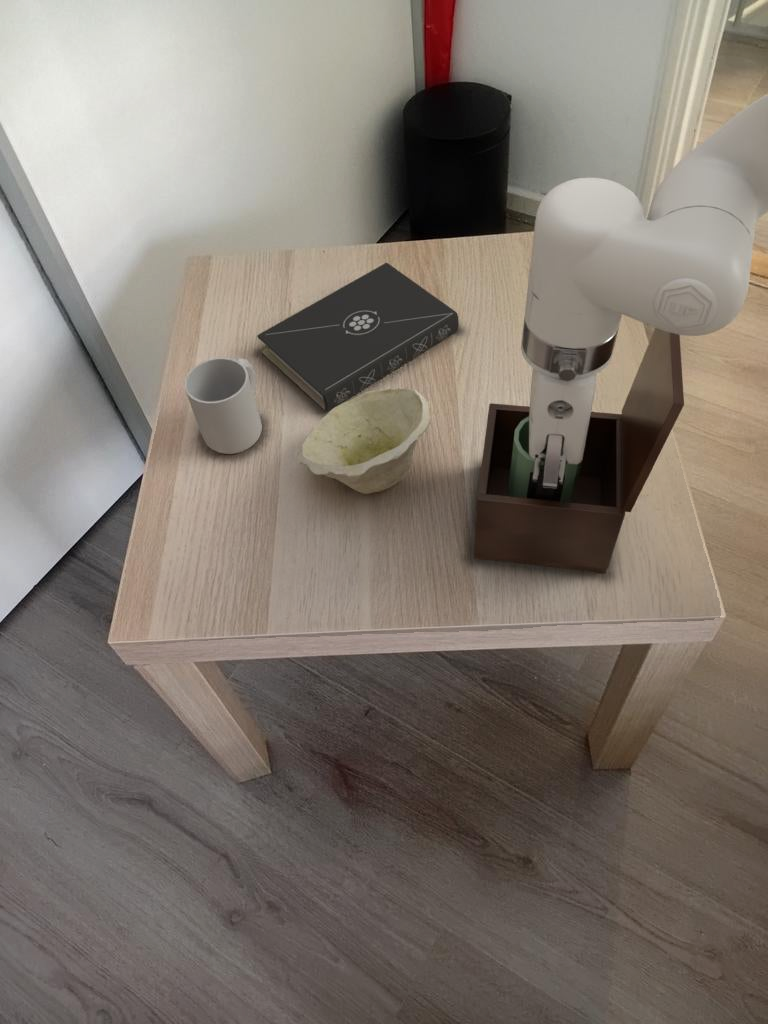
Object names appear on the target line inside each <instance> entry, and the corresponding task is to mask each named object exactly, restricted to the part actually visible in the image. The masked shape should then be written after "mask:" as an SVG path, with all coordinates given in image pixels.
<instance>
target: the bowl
mask: <svg viewBox="0 0 768 1024" xmlns="http://www.w3.org/2000/svg"><path fill="white" fill-rule="evenodd" d="M431 421H432V418H431V410H430V403H429V401H428V400H427V399H426V398H425V397H424V396H423V395H422V394H421V393H420V392H419V391H417V390H416V389H414V388H409V387H402V388H400V387H397V388H395V389H394V388H386V389H381V390H380V389H379V390H368V391H365V392H363V393H361V394H359V395H357V396H355V397H352V398H350V399H348V400H346V401H345V402H343V403H342V404H340V405H338V406H336V407H335V408H333V409H332V410H330V411H329V412H327V413H326V414H325V415H324V416H323V417H322V418H321V419H320V420H319V422H318V423H317V424H315V425H314V426H313V427H312V429H311V431H310V433H309V434H308V435H307V437H306V438H305V439H304V440H303V444H302V446H301V450H300V452H299V454H298V458H297V462H299V463H300V464H305V465H306V466H308V469H309V470H310V471H311V472H312V474H313V475H321V476H325V477H327V478H331V479H335V480H337V481H338V482H341V483H342V484H344V485H346V486H347V487H349V488H350V489H352V490H353V491H355V492H358V493H361V494H365V495H371V494H374V493H380V492H383V491H385V490H386V489H390V488H392V487H393V486H395V485H396V484H398V483H399V482H400V481H401V480H402V479H403V477H404V476H405V475H406V474H407V472H408V470H409V469H410V467H411V463H412V457H413V455H414V451H415V447H416V445H417V443H418V441H419V438H421V436H422V435H424V434H425V432H426V431H427V430H428V428H429V426H430V425H431Z"/></svg>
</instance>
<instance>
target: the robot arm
mask: <svg viewBox="0 0 768 1024" xmlns="http://www.w3.org/2000/svg"><path fill="white" fill-rule="evenodd" d="M648 209H649V210H648V213H647V217H646V216H645V213H644V208H643V206H642V203H641V201H640V200H639V198H638V197H637V195H636V194H635V193H634V192H633V191H632V190H631V189H629V188H628V187H626V186H624V185H623V184H621V183H619V182H616V181H614V180H612V179H611V180H610V179H606V178H602V177H601V178H600V177H578V178H573V179H570V180H566V181H564V182H562V183H559V184H558V185H556V186H554V187H552V188H551V189H550V190H549V191H548V192H547V193H546V194H545V195H544V196H543V198H542V199H541V201H540V203H539V206H538V208H537V210H536V215H535V220H534V221H535V222H534V227H533V228H534V229H533V235H532V236H533V238H532V246H531V256H530V264H529V272H528V273H529V274H528V283H527V292H526V300H525V308H524V318H523V326H522V334H521V343H520V350H521V354H522V356H523V359H524V360H525V361H526V363H527V365H529V366H530V367H531V368H532V373H531V381H530V395H529V407H530V411H529V455H530V457H531V458H532V459H533V460H535V462H534V470H533V472H530V477H529V484H528V491H527V498H529V499H539V500H549V501H559V502H560V500H561V495H562V490H563V485H564V481H565V475H564V470H565V463H566V460H567V462H568V463H569V464H579V463H580V462H581V461H582V459H583V453H584V448H585V442H586V437H587V431H588V426H589V421H590V416H591V412H592V410H593V404H594V398H595V391H596V385H597V377H598V374H599V373H600V372H602V371H603V370H605V369H606V367H607V366H608V365H609V364H610V362H611V361H612V357H613V355H614V349H615V345H616V341H617V338H618V333H619V329H620V325H621V321H622V317H623V316H626V317H628V318H631V319H633V320H635V321H637V322H640V323H642V324H645V325H646V326H650V327H652V328H654V329H655V328H657V329H660V330H663V331H666V332H670V333H674V334H678V335H680V336H687V337H699V336H705V335H706V336H707V335H709V334H713V333H716V332H718V331H720V330H722V329H724V328H726V327H727V326H728V325H730V324H731V323H732V322H733V321H734V320H735V319H736V318H737V316H738V315H739V314H740V312H741V311H742V309H743V307H744V304H745V302H746V298H747V295H748V292H749V287H750V279H751V271H752V270H751V269H752V262H753V261H752V260H753V253H754V252H753V250H754V243H755V234H756V227H757V226H756V224H757V220H759V219H760V218H761V217H763V216H765V214H767V213H768V92H767V93H766V94H764V95H762V96H761V97H759V98H758V99H756V100H754V101H753V102H752V103H750V104H749V105H747V106H746V107H745V108H743V109H742V110H740V111H739V112H738V113H737V114H735V115H734V116H732V118H730V119H729V120H728V121H727V122H725V123H724V124H722V125H721V126H720V127H719V128H718V129H717V130H716V131H714V132H713V133H711V134H710V135H709V136H708V137H706V138H705V139H704V140H702V142H700V143H699V144H698V145H697V146H696V147H694V148H693V149H692V150H691V151H690V152H688V153H687V154H686V155H685V156H684V157H682V159H681V160H679V161H678V162H677V163H676V164H675V165H674V167H672V168H671V169H670V171H669V172H668V173H667V175H666V176H665V177H664V178H663V180H662V181H661V182H660V184H659V185H658V186H657V188H656V191H655V193H654V195H653V196H652V199H651V202H650V206H649V208H648ZM545 445H547V448H546V449H545ZM561 447H563V449H562V450H561ZM541 459H545V466H544V470H543V469H540V463H541Z"/></svg>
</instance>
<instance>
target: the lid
mask: <svg viewBox="0 0 768 1024" xmlns="http://www.w3.org/2000/svg"><path fill="white" fill-rule="evenodd" d="M681 349H682V348H681V335H678V334H674V333H670V332H666V331H663V330H660V329H657V328H655V327H654V330H653V332H652V334H651V337H650V340H649V343H648V344H647V346H646V350H645V351H644V355H643V357H642V359H641V361H640V364H639V366H638V369H637V372H636V374H635V376H634V379H633V381H632V384H631V387H630V389H629V392H628V394H627V396H626V399H625V401H624V404H623V406H622V408H621V414H622V511H625V513H632V510H633V509H634V507H635V505H636V502H637V500H638V499H639V497H640V494H641V492H642V491H643V489H644V487H645V485H646V483H647V480H648V479H649V476H650V474H651V472H652V470H653V468H654V466H655V464H656V462H657V460H658V458H659V456H660V454H661V453H662V450H663V448H664V446H665V444H666V443H667V441H668V438H669V436H670V434H671V432H672V430H673V428H674V426H675V424H676V422H677V421H678V418H679V416H680V414H681V412H682V410H683V408H684V406H685V397H684V396H685V394H684V382H683V381H684V379H683V365H682V351H681Z"/></svg>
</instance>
